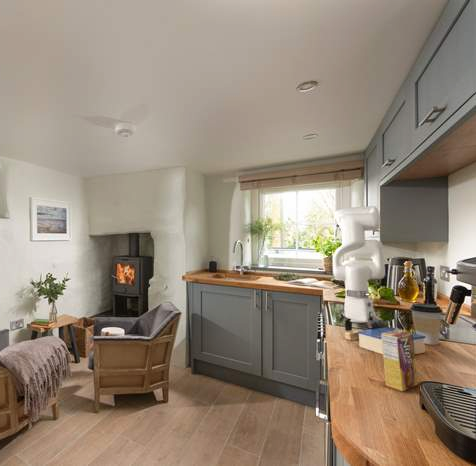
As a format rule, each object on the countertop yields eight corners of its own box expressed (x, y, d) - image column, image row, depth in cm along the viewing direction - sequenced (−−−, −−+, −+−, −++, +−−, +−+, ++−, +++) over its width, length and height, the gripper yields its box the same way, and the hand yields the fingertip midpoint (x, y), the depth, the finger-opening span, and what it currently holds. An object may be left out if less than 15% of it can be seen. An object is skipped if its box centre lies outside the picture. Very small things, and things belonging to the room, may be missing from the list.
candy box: (400, 378, 89) (396, 328, 89) (418, 384, 85) (414, 332, 85) (383, 385, 85) (380, 332, 86) (402, 391, 81) (398, 336, 82)
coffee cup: (412, 342, 119) (409, 305, 119) (412, 337, 125) (409, 302, 126) (446, 348, 112) (443, 308, 113) (444, 341, 119) (441, 304, 119)
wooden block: (368, 334, 131) (368, 328, 131) (379, 337, 126) (378, 330, 126) (342, 338, 127) (342, 331, 127) (352, 341, 123) (352, 334, 123)
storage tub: (388, 341, 120) (387, 327, 121) (426, 352, 108) (425, 336, 108) (358, 346, 116) (357, 331, 116) (393, 358, 104) (392, 341, 104)
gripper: (385, 296, 120) (388, 338, 119) (344, 290, 137) (347, 327, 136) (371, 297, 118) (374, 340, 117) (332, 291, 135) (334, 329, 134)
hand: (359, 333), depth 126 cm, fingers open, 9 cm apart
